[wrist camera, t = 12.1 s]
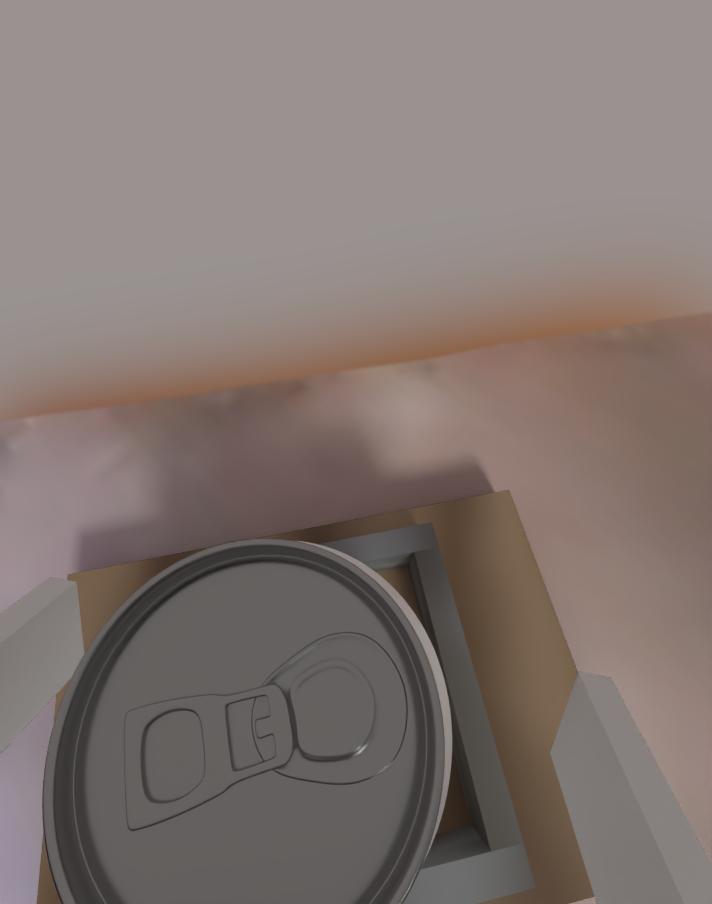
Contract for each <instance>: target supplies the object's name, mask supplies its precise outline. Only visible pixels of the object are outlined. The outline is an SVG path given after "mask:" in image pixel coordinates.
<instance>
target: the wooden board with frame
mask: <svg viewBox="0 0 712 904" xmlns="http://www.w3.org/2000/svg"><path fill="white" fill-rule="evenodd" d="M261 538H272V539H285V540H293V541H303V542H309V543H314V544H318V545H322V546H326V547H329V548H332V549H335V550H337V551H340V552H342V553H345V554H347V555H349V556H351V557H353V558H355V559H356V560H358V561H360V562H362V563H363V564H365V565H366V566H368V567H369V568H371V569H372V570H374V571H375V572H376V573H378V574H379V575H380V576H381V577H382V578H384V579H385V580H386V581H387V582H388V583H389V584H390V585H391V586H392V587H393V588H394V589H395V590H396V591H397V592H398V593H399V594H400V595H401V596H402V597H403V599H404V600H405V601H406V602H407V604H408V605H409V606H410V608H411V609H412V610H413V612H414V613H415V615H416V616H417V618H418V619H419V621H420V623H421V624H422V626H423V628H424V629H425V631H426V633H427V635H428V637H429V639H430V641H431V643H432V646H433V648H434V650H435V653H436V655H437V658H438V661H439V664H440V667H441V670H442V673H443V677H444V680H445V684H446V689H447V694H448V699H449V705H450V713H451V723H452V762H451V772H450V780H449V786H448V792H447V797H446V801H445V806H444V810H443V813H442V817H441V820H440V824H439V827H438V830H437V832H436V835H435V838H434V841H433V843H432V845H431V848H430V850H429V852H428V855H427V857H426V859H425V861H424V863H423V865H422V867H421V869H420V872H419V874H418V876H417V878H416V880H415V883H414V885H413V887H412V888H411V890H410V892H409V894H408V896H407V898H406V899H405V901H404V903H403V904H569V903H572V902H576V901H580V900H583V899H587V898H591V897H594V894H593V890H592V887H591V884H590V881H589V877H588V874H587V871H586V868H585V864H584V861H583V858H582V855H581V851H580V848H579V845H578V842H577V838H576V835H575V832H574V829H573V826H572V822H571V819H570V816H569V813H568V809H567V806H566V803H565V800H564V796H563V793H562V790H561V787H560V783H559V780H558V777H557V774H556V770H555V767H554V764H553V761H552V758H551V754H550V752H551V749H552V747H553V744H554V741H555V738H556V735H557V732H558V729H559V726H560V723H561V720H562V717H563V715H564V712H565V709H566V706H567V703H568V700H569V697H570V694H571V691H572V688H573V685H574V683H575V680H576V677H577V674H578V671H577V669H576V666H575V664H574V661H573V658H572V656H571V653H570V650H569V648H568V645H567V642H566V640H565V637H564V634H563V632H562V629H561V626H560V624H559V621H558V619H557V616H556V613H555V611H554V608H553V605H552V603H551V600H550V597H549V595H548V592H547V589H546V587H545V584H544V581H543V579H542V576H541V573H540V571H539V568H538V566H537V563H536V560H535V558H534V555H533V552H532V550H531V547H530V544H529V542H528V539H527V536H526V534H525V531H524V528H523V526H522V523H521V521H520V518H519V515H518V513H517V510H516V507H515V505H514V502H513V499H512V497H511V494H510V491H509V490H506V491H501V492H495V493H490V494H485V495H480V496H475V497H469V498H464V499H459V500H454V501H449V502H443V503H438V504H433V505H428V506H423V507H417V508H412V509H407V510H402V511H397V512H391V513H386V514H381V515H376V516H370V517H365V518H360V519H355V520H350V521H344V522H339V523H334V524H329V525H324V526H318V527H313V528H308V529H303V530H298V531H292V532H287V533H282V534H277V535H272V536H266V537H261ZM256 539H260V538H256ZM209 548H210V547H209ZM205 549H207V548H204V549H199V550H193V551H188V552H183V553H178V554H173V555H167V556H162V557H157V558H152V559H147V560H141V561H136V562H131V563H126V564H121V565H115V566H110V567H105V568H100V569H94V570H89V571H84V572H79V573H74V574H68V578H67V580H69V581H75V582H77V589H78V599H79V608H80V617H81V627H82V636H83V645H84V654H85V652H86V650H87V649H88V647H89V646H90V644H91V642H92V641H93V640H94V638H95V637H96V635H97V634H98V632H99V631H100V630H101V628H102V627H103V626H104V625H105V623H106V622H107V621H108V620H109V618H110V617H111V616H112V615H113V614H114V613H115V612H116V610H117V609H118V608H119V607H120V606H121V605H122V604H123V603H124V602H125V601H126V600H127V599H128V598H129V597H130V596H131V595H132V594H133V593H134V592H136V591H137V590H138V589H139V588H140V587H141V586H143V585H144V584H145V583H146V582H148V581H149V580H150V579H152V578H153V577H154V576H156V575H157V574H159V573H160V572H162V571H163V570H165V569H166V568H168V567H169V566H171V565H173V564H174V563H176V562H178V561H180V560H182V559H184V558H186V557H188V556H190V555H192V554H195V553H197V552H199V551H202V550H205ZM70 680H71V679H70ZM70 680H69V681H68V682H67V683H66V684H65V685H64V686H63V687H62V689H61V690H60V691H59V692H58V693H57V695H56V705H55V716H54V722H55V719H56V716H57V712H58V710H59V707H60V704H61V701H62V699H63V696H64V694H65V691H66V689H67V687H68V684H69V682H70ZM37 904H61V902H60V900H59V897H58V894H57V892H56V889H55V886H54V882H53V879H52V875H51V872H50V868H49V863H48V858H47V853H46V847H45V840H44V833H43V843H42V854H41V864H40V875H39V886H38V896H37Z"/></svg>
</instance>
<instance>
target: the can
mask: <svg viewBox="0 0 712 904" xmlns="http://www.w3.org/2000/svg"><path fill="white" fill-rule="evenodd" d="M451 762H452V723H451V713H450V705H449V699H448V694H447V689H446V684H445V680H444V677H443V673H442V670H441V667H440V664H439V661H438V658H437V655H436V653H435V650H434V648H433V646H432V643H431V641H430V639H429V637H428V635H427V633H426V631H425V629H424V628H423V626H422V624H421V623H420V621H419V619H418V618H417V616H416V615H415V613H414V612H413V610H412V609H411V608H410V606H409V605H408V604H407V602H406V601H405V600H404V599H403V597H402V596H401V595H400V594H399V593H398V592H397V591H396V590H395V589H394V588H393V587H392V586H391V585H390V584H389V583H388V582H387V581H386V580H385V579H384V578H382V577H381V576H380V575H379V574H378V573H376V572H375V571H374V570H372V569H371V568H369V567H368V566H366V565H365V564H363V563H362V562H360V561H358V560H356V559H355V558H353V557H351V556H349V555H347V554H345V553H342V552H340V551H337V550H335V549H332V548H329V547H326V546H322V545H318V544H314V543H309V542H303V541H293V540H285V539H272V538H260V539H246V540H239V541H233V542H229V543H224V544H220V545H217V546H214V547H210V548H207V549H205V550H202V551H199V552H197V553H195V554H192V555H190V556H188V557H186V558H184V559H182V560H180V561H178V562H176V563H174V564H173V565H171V566H169V567H168V568H166V569H165V570H163V571H162V572H160V573H159V574H157V575H156V576H154V577H153V578H152V579H150V580H149V581H148V582H146V583H145V584H144V585H143V586H141V587H140V588H139V589H138V590H137V591H136V592H134V593H133V594H132V595H131V596H130V597H129V598H128V599H127V600H126V601H125V602H124V603H123V604H122V605H121V606H120V607H119V608H118V609H117V610H116V612H115V613H114V614H113V615H112V616H111V617H110V618H109V620H108V621H107V622H106V623H105V625H104V626H103V627H102V628H101V630H100V631H99V632H98V634H97V635H96V637H95V638H94V640H93V641H92V642H91V644H90V646H89V647H88V649H87V650H86V652H85V654H84V655H83V657H82V659H81V660H80V662H79V664H78V666H77V668H76V670H75V672H74V674H73V676H72V678H71V680H70V682H69V684H68V687H67V689H66V691H65V694H64V696H63V699H62V701H61V704H60V707H59V710H58V712H57V716H56V719H55V722H54V726H53V729H52V733H51V737H50V742H49V746H48V751H47V757H46V763H45V770H44V780H43V798H42V813H43V831H44V840H45V847H46V853H47V858H48V863H49V868H50V872H51V875H52V879H53V882H54V886H55V889H56V892H57V894H58V897H59V900H60V902H61V904H403V903H404V901H405V899H406V898H407V896H408V894H409V892H410V890H411V888H412V887H413V885H414V883H415V880H416V878H417V876H418V874H419V872H420V869H421V867H422V865H423V863H424V861H425V859H426V857H427V855H428V852H429V850H430V848H431V845H432V843H433V841H434V838H435V835H436V832H437V830H438V827H439V824H440V820H441V817H442V813H443V810H444V806H445V801H446V797H447V792H448V786H449V780H450V772H451Z"/></svg>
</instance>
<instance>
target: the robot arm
mask: <svg viewBox="0 0 712 904" xmlns="http://www.w3.org/2000/svg"><path fill="white" fill-rule="evenodd" d="M83 655H84V645H83V636H82V627H81V617H80V608H79V599H78V589H77V582H75V581H69V580H64V579H58V578H53V577H50V578H48V579H47V580H46V581H44V582H43V583H42V584H40V585H39V586H37V587H36V588H35V589H33V590H32V591H31V592H29V593H28V594H27V595H25V596H24V597H23V598H21V599H20V600H18V601H17V602H16V603H14V604H13V605H12V606H10V607H9V608H8V609H6V610H5V611H3V612H2V613H1V614H0V754H1V753H2V752H3V751H4V750H5V749H6V748H7V747H8V746H9V745H10V743H11V742H12V741H13V740H14V739H15V738H16V737H17V736H18V735H19V734H20V733H21V732H22V731H23V729H24V728H25V727H26V726H27V725H28V724H29V723H30V722H31V721H32V720H33V719H34V718H35V717H36V715H37V714H38V713H39V712H40V711H41V710H42V709H43V708H44V707H45V706H46V705H47V704H48V703H49V701H50V700H51V699H52V698H53V697H54V696H55V695H56V694H57V693H58V692H59V691H60V690H61V689H62V687H63V686H64V685H65V684H66V683H67V682H68V681H69V680H70V679H71V678H72V676H73V674H74V672H75V670H76V668H77V666H78V664H79V662H80V660H81V659H82V657H83ZM550 754H551V758H552V761H553V764H554V767H555V770H556V774H557V777H558V780H559V783H560V787H561V790H562V793H563V796H564V800H565V803H566V806H567V809H568V813H569V816H570V819H571V822H572V826H573V829H574V832H575V835H576V838H577V842H578V845H579V848H580V851H581V855H582V858H583V861H584V864H585V868H586V871H587V874H588V877H589V881H590V884H591V887H592V890H593V894H594V897H595V900H596V903H597V904H712V865H711V863H710V861H709V859H708V857H707V855H706V854H705V852H704V850H703V848H702V846H701V844H700V842H699V841H698V839H697V837H696V835H695V833H694V831H693V829H692V828H691V826H690V824H689V822H688V820H687V818H686V816H685V815H684V813H683V811H682V809H681V807H680V805H679V803H678V802H677V800H676V798H675V796H674V794H673V792H672V790H671V789H670V787H669V785H668V783H667V781H666V779H665V777H664V775H663V774H662V772H661V770H660V768H659V766H658V764H657V762H656V761H655V759H654V757H653V755H652V753H651V751H650V749H649V748H648V746H647V744H646V742H645V740H644V738H643V736H642V735H641V733H640V731H639V729H638V727H637V725H636V723H635V722H634V720H633V718H632V716H631V714H630V712H629V710H628V709H627V707H626V705H625V703H624V701H623V699H622V697H621V695H620V694H619V692H618V690H617V688H616V686H615V684H614V682H613V681H612V679H611V677H607V676H601V675H595V674H590V673H584V672H579V671H578V674H577V677H576V680H575V683H574V685H573V688H572V691H571V694H570V697H569V700H568V703H567V706H566V709H565V712H564V715H563V717H562V720H561V723H560V726H559V729H558V732H557V735H556V738H555V741H554V744H553V747H552V749H551V752H550Z"/></svg>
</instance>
